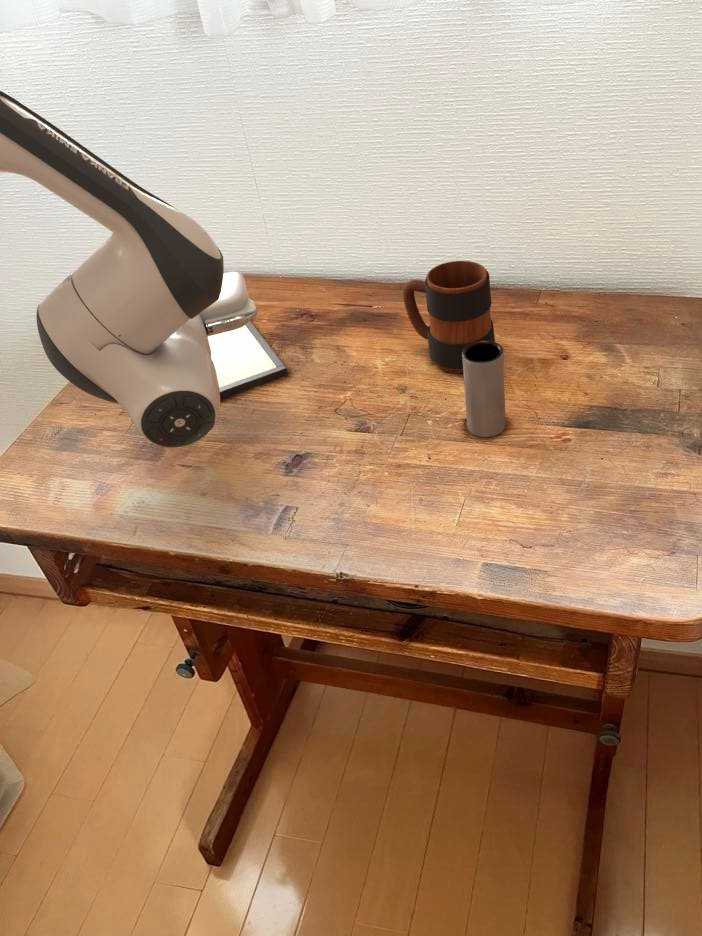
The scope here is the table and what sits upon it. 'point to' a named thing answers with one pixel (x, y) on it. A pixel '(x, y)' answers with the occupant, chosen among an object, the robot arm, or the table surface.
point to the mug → (452, 310)
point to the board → (243, 360)
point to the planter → (484, 388)
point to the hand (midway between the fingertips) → (156, 285)
